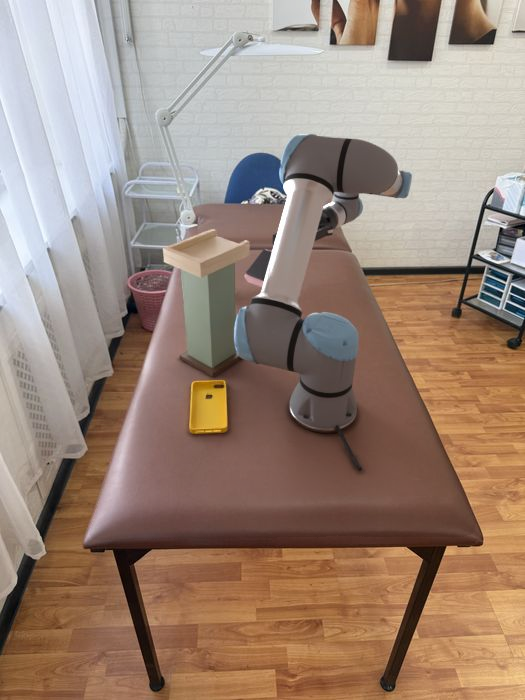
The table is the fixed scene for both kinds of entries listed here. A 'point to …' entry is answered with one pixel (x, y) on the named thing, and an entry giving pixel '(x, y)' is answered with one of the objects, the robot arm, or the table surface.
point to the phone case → (208, 407)
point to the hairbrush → (258, 269)
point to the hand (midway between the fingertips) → (279, 241)
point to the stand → (208, 297)
